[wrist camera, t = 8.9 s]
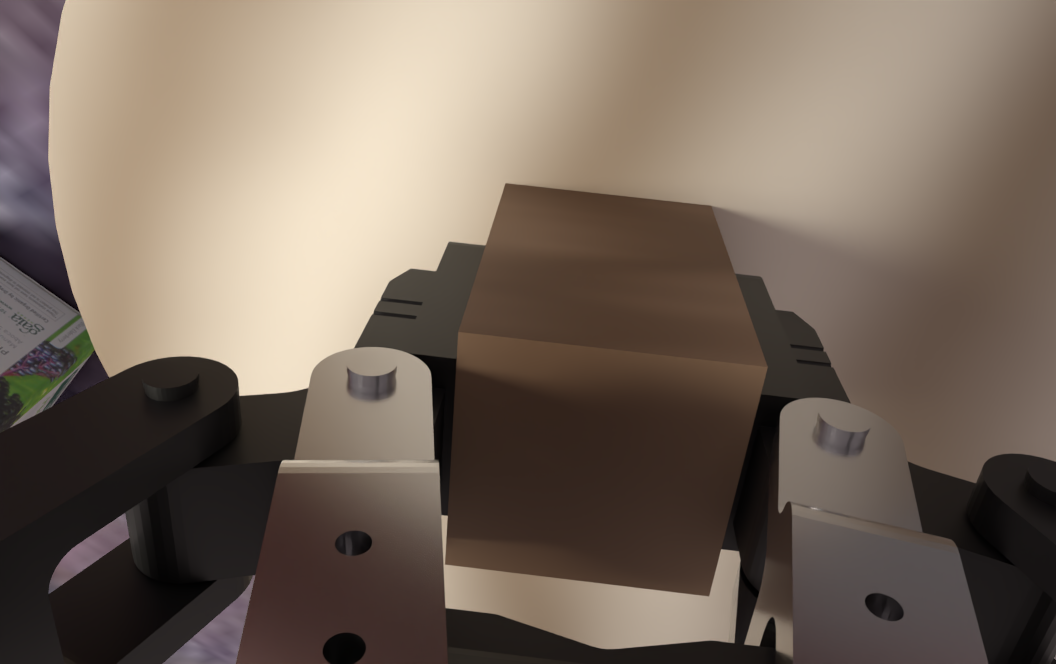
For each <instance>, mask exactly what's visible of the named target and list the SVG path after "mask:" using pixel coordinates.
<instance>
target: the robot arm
mask: <svg viewBox="0 0 1056 664" xmlns="http://www.w3.org/2000/svg"><path fill="white" fill-rule="evenodd" d="M485 246H486V245H477V244H468V243H459V242H450V241H449V242H448V244H447V247H446V249H445V252H444V254H443V256H442V259H441V261H440V263H439V266H438V268H437V270H436V271H429V270H420V269H409V270H407V271H406V272H404V273H402V274H401V275H399V276H397V277H396V278H394V279H392V280H391V281H389V283H388V285H387V287H386V289H385V291H384V293H383V294H382V296H381V301H379V302H378V304H377V306H376V308H375V309H374V313H373V314H372V315H371V317H370V319H369V321H368V323H367V324H366V326H365V328H364V330H363V332H362V334H361V336H360V338H359V339H358V341H357V343H356V345H355V347H354V348H353V349H348V350H344V351H341V352H337V353H335V354H332V355H330V356H328V357H326V358H325V359H323V360H322V361H321V362H319V363H318V364H317V365H316V366H315V368H314V369H313V371H312V374H311V378H310V383H309V388H306V389H302V390H298V391H292V392H285V393H274V394H260V395H245V396H239V384H238V378H237V375H236V374H235V372H234V371H233V370H232V369H231V368H229V367H228V366H227V365H225V364H222V363H220V362H218V361H215V360H212V359H207V358H202V357H192V356H178V357H167V358H160V359H155V360H151V361H147V362H144V363H141V364H138V365H135V366H133V367H130V368H128V369H126V370H124V371H122V372H120V373H118V374H116V375H114V376H112V377H110V378H108V379H106V380H104V381H102V382H100V383H98V384H96V385H94V386H92V387H90V388H88V389H86V390H84V391H82V392H80V393H78V394H76V395H74V396H72V397H70V398H68V399H66V400H64V401H62V402H60V403H58V404H56V405H54V406H52V407H50V408H48V409H46V410H44V411H42V412H40V413H38V414H37V415H35V416H33V417H31V418H29V419H27V420H25V421H23V422H21V423H19V424H17V425H15V426H13V427H11V428H9V429H7V430H5V431H3V432H1V433H0V664H162V663H164V662H165V661H166V660H167V659H168V658H169V657H170V656H172V655H173V654H174V653H175V652H176V651H177V650H178V649H180V648H181V647H182V646H183V645H184V644H185V643H186V642H188V641H189V640H190V639H191V638H192V637H193V636H194V635H196V634H197V633H198V632H199V631H200V630H201V629H202V628H204V627H205V626H206V625H207V624H208V623H209V622H210V621H212V620H213V619H214V618H215V617H216V616H217V615H218V614H220V613H221V612H222V611H223V610H224V609H225V608H226V607H228V606H229V605H230V604H231V603H232V602H233V601H234V600H236V599H237V598H238V597H239V596H240V595H241V594H242V593H243V592H244V591H245V589H246V588H247V587H248V585H249V584H250V581H251V579H252V576H253V575H255V579H254V583H253V588H252V592H251V597H250V601H249V606H248V610H247V615H246V619H245V624H244V628H243V633H242V637H241V642H240V646H239V651H238V655H237V660H236V664H1056V660H1055V659H1054V657H1055V655H1056V462H1055V461H1052V460H1048V459H1045V458H1041V457H1037V456H1032V455H1026V454H1012V453H1010V454H1001V455H997V456H994V457H992V458H989V459H988V460H987V461H986V462H985V463H984V465H983V467H982V470H981V472H980V475H979V477H978V479H977V482H976V483H973V482H970V481H967V480H963V479H960V478H956V477H953V476H950V475H946V474H943V473H940V472H936V471H933V470H930V469H927V468H924V467H921V466H918V465H916V464H913V463H911V462H908V461H907V457H906V452H905V447H904V443H903V440H902V438H901V436H900V435H899V433H898V432H897V431H896V430H895V429H894V427H893V426H892V425H890V424H889V423H888V422H887V421H885V420H884V419H882V418H881V417H879V416H878V415H876V414H874V413H872V412H870V411H868V410H866V409H864V408H862V407H859V406H856V405H853V404H851V403H850V400H849V398H848V396H847V394H846V392H845V390H844V388H843V386H842V384H841V382H840V380H839V378H838V376H837V374H836V372H835V370H834V368H833V367H831V361H830V359H829V357H828V355H827V353H826V352H824V347H823V345H822V343H821V341H820V339H819V337H818V335H817V333H816V331H815V329H814V328H812V327H811V326H810V325H809V324H808V323H806V322H805V321H804V320H803V319H801V318H800V317H799V316H798V315H796V314H795V313H794V312H791V311H782V310H775V308H774V305H773V303H772V300H771V298H770V296H769V293H768V291H767V288H766V286H765V284H764V281H763V279H762V277H760V276H752V275H743V274H735V275H736V278H737V281H738V283H739V286H740V289H741V292H742V295H743V298H744V301H745V303H746V306H747V309H748V312H749V315H750V318H751V321H752V323H753V326H754V329H755V332H756V335H757V338H758V341H759V343H760V346H761V349H762V352H763V355H764V358H765V361H766V363H767V366H768V368H767V372H766V376H765V380H764V384H763V388H762V392H761V396H760V400H759V404H758V408H757V411H756V415H755V419H754V423H753V427H752V431H751V435H750V439H749V443H748V447H747V450H746V454H745V458H744V462H743V466H742V470H741V474H740V478H739V482H738V486H737V489H736V493H735V497H734V501H733V505H732V509H731V513H730V517H729V521H728V525H727V529H726V532H725V536H724V540H723V544H722V548H721V549H723V550H732V551H739V555H740V564H739V568H738V571H737V575H736V579H735V582H734V586H733V591H732V601H731V613H730V625H729V638H728V642H720V641H712V640H709V641H698V642H687V643H676V644H665V645H654V646H643V647H632V648H621V649H602V648H597V647H593V646H590V645H587V644H584V643H581V642H578V641H575V640H572V639H569V638H566V637H563V636H560V635H557V634H554V633H551V632H548V631H545V630H542V629H539V628H536V627H533V626H530V625H527V624H524V623H521V622H518V621H515V620H512V619H509V618H506V617H503V616H500V615H497V614H491V613H483V612H475V611H467V610H458V609H450V608H445V586H444V564H443V542H442V519H441V515H444V516H448V502H449V485H450V467H451V450H452V432H453V415H454V397H455V380H456V363H457V345H458V331H459V328H460V325H461V322H462V319H463V315H464V312H465V309H466V306H467V303H468V300H469V297H470V293H471V290H472V287H473V284H474V281H475V278H476V274H477V271H478V268H479V265H480V262H481V259H482V256H483V252H484V249H485ZM124 513H125V514H126V520H127V525H128V531H129V537H130V538H129V539H127V540H126V541H125V542H123V543H122V544H120V545H119V546H117V547H116V548H114V549H113V550H112V551H110V552H109V553H107V554H106V555H104V556H103V557H102V558H100V559H99V560H97V561H96V562H94V563H93V564H92V565H90V566H89V567H87V568H86V569H84V570H83V571H82V572H80V573H79V574H77V575H76V576H74V577H73V578H71V579H70V580H69V581H67V582H66V583H64V584H63V585H61V586H60V587H59V588H57V589H56V590H54V591H53V592H51V593H50V594H48V590H49V584H50V580H51V577H52V574H53V572H54V570H55V568H56V567H57V565H58V564H59V562H60V561H61V559H62V558H63V557H64V556H65V555H66V554H67V553H68V552H69V551H70V550H71V549H72V548H73V547H75V546H76V545H77V544H79V543H80V542H82V541H83V540H85V539H86V538H88V537H89V536H91V535H92V534H94V533H95V532H97V531H98V530H100V529H101V528H103V527H104V526H106V525H107V524H109V523H110V522H112V521H113V520H115V519H116V518H118V517H119V516H121V515H122V514H124Z"/></svg>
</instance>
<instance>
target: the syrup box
mask: <svg viewBox="0 0 1056 664" xmlns="http://www.w3.org/2000/svg"><path fill="white" fill-rule="evenodd" d="M94 350H95V349H94V347H93V344H92V342H91V339H90V336H89V334H88V331H87V329H86V326H85V323H84V321H83V318H82V316H81V313H79V312H78V311H77V310H75V309H74V308H72V307H71V306H69V305H68V304H67V303H65V302H64V301H62V300H61V299H60V298H58V297H57V296H55V295H54V294H52V293H51V292H50V291H48V290H47V289H45V288H44V287H43V286H41V285H40V284H38V283H37V282H36V281H34V280H33V279H31V278H30V277H28V276H27V275H25V274H24V273H22V272H21V271H20V270H18V269H17V268H15V267H14V266H13V265H11V264H10V263H8V262H7V261H6V260H4V259H3V258H1V257H0V433H1V432H3V431H5V430H7V429H9V428H11V427H13V426H15V425H17V424H19V423H21V422H23V421H25V420H27V419H29V418H31V417H33V416H35V415H37V414H38V413H40V412H42V411H44V410H46V409H48V408H50V407H52V406H53V405H54V403H55V402H56V401H57V399H58V398H59V397H60V395H61V394H62V393H63V391H64V390H65V389H66V388H67V386H68V385H69V384H70V382H71V381H72V380H73V378H74V377H75V376H76V374H77V373H78V372H79V370H80V369H81V368H82V366H83V365H84V364H85V362H86V361H87V360H88V358H89V357H90V356H91V354H92V353H93V351H94Z"/></svg>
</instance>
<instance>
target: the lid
mask: <svg viewBox="0 0 1056 664" xmlns="http://www.w3.org/2000/svg"><path fill="white" fill-rule="evenodd" d="M48 160H49V169H50V177H51V186H52V195H53V204H54V212H55V221H56V228H57V232H58V236H59V241H60V245H61V249H62V253H63V257H64V261H65V265H66V269H67V273H68V277H69V281H70V285H71V289H72V292H73V295H74V298H75V300H76V303H77V305H78V308H79V310H80V313H81V316H82V318H83V321H84V323H85V326H86V329H87V331H88V334H89V336H90V339H91V342H92V344H93V347H94V349H95V352H96V354H97V355H98V357H99V359H100V361H101V363H102V365H103V367H104V369H105V371H106V372H107V374H108V376H109V378H110V377H112V376H114V375H116V374H118V373H120V372H122V371H124V370H126V369H128V368H130V367H133V366H135V365H138V364H141V363H144V362H147V361H151V360H155V359H160V358H167V357H178V356H192V357H202V358H207V359H212V360H215V361H218V362H220V363H222V364H225V365H227V366H228V367H229V368H231V369H232V370H233V371H234V372H235V374H236V375H237V378H238V384H239V396H245V395H260V394H274V393H285V392H292V391H298V390H302V389H306V388H309V383H310V378H311V374H312V371H313V369H314V368H315V366H316V365H317V364H318V363H319V362H321V361H322V360H323V359H325V358H326V357H328V356H330V355H332V354H335V353H337V352H341V351H344V350H348V349H353V348H354V347H355V345H356V343H357V341H358V339H359V338H360V336H361V334H362V332H363V330H364V328H365V326H366V324H367V323H368V321H369V319H370V317H371V315H372V314H373V313H374V309H375V308H376V306H377V304H378V302H379V301H381V296H382V294H383V293H384V291H385V289H386V287H387V285H388V283H389V281H391V280H392V279H394V278H396V277H397V276H399V275H401V274H402V273H404V272H406V271H407V270H409V269H420V270H429V271H436V270H437V268H438V266H439V263H440V261H441V259H442V256H443V254H444V252H445V249H446V247H447V244H448V242H449V241H450V242H459V243H468V244H477V245H486V246H485V249H484V252H483V256H482V259H481V262H480V265H479V268H478V271H477V274H476V278H475V281H474V284H473V287H472V290H471V293H470V297H469V300H468V303H467V306H466V309H465V312H464V315H463V319H462V322H461V325H460V328H459V331H458V345H457V363H456V380H455V397H454V415H453V432H452V450H451V467H450V485H449V502H448V516H444V515H441V519H442V542H443V564H444V586H445V608H450V609H458V610H467V611H475V612H483V613H491V614H497V615H500V616H503V617H506V618H509V619H512V620H515V621H518V622H521V623H524V624H527V625H530V626H533V627H536V628H539V629H542V630H545V631H548V632H551V633H554V634H557V635H560V636H563V637H566V638H569V639H572V640H575V641H578V642H581V643H584V644H587V645H590V646H593V647H597V648H602V649H621V648H632V647H643V646H654V645H665V644H676V643H687V642H698V641H709V640H712V641H720V642H728V638H729V625H730V613H731V601H732V591H733V586H734V582H735V579H736V575H737V571H738V568H739V564H740V555H739V551H732V550H723V549H721V548H722V544H723V540H724V536H725V532H726V529H727V525H728V521H729V517H730V513H731V509H732V505H733V501H734V497H735V493H736V489H737V486H738V482H739V478H740V474H741V470H742V466H743V462H744V458H745V454H746V450H747V447H748V443H749V439H750V435H751V431H752V427H753V423H754V419H755V415H756V411H757V408H758V404H759V400H760V396H761V392H762V388H763V384H764V380H765V376H766V372H767V368H768V366H767V363H766V361H765V358H764V355H763V352H762V349H761V346H760V343H759V341H758V338H757V335H756V332H755V329H754V326H753V323H752V321H751V318H750V315H749V312H748V309H747V306H746V303H745V301H744V298H743V295H742V292H741V289H740V286H739V283H738V281H737V278H736V275H735V274H743V275H752V276H760V277H762V279H763V281H764V284H765V286H766V288H767V291H768V293H769V296H770V298H771V300H772V303H773V305H774V308H775V310H782V311H791V312H794V313H795V314H796V315H798V316H799V317H800V318H801V319H803V320H804V321H805V322H806V323H808V324H809V325H810V326H811V327H812V328H814V329H815V331H816V333H817V335H818V337H819V339H820V341H821V343H822V345H823V347H824V352H826V353H827V355H828V357H829V359H830V361H831V367H833V368H834V370H835V372H836V374H837V376H838V378H839V380H840V382H841V384H842V386H843V388H844V390H845V392H846V394H847V396H848V398H849V400H850V403H851V404H853V405H856V406H859V407H862V408H864V409H866V410H868V411H870V412H872V413H874V414H876V415H878V416H879V417H881V418H882V419H884V420H885V421H887V422H888V423H889V424H890V425H892V426H893V427H894V429H895V430H896V431H897V432H898V433H899V435H900V436H901V438H902V440H903V443H904V447H905V452H906V457H907V461H908V462H911V463H913V464H916V465H918V466H921V467H924V468H927V469H930V470H933V471H936V472H940V473H943V474H946V475H950V476H953V477H956V478H960V479H963V480H967V481H970V482H973V483H976V482H977V479H978V477H979V475H980V472H981V470H982V467H983V465H984V463H985V462H986V461H987V460H988V459H989V458H992V457H994V456H997V455H1001V454H1010V453H1012V454H1026V455H1032V456H1037V457H1041V458H1045V459H1048V460H1052V461H1055V462H1056V0H66V2H65V5H64V8H63V11H62V15H61V22H60V28H59V34H58V40H57V46H56V52H55V59H54V65H53V71H52V77H51V83H50V106H49V153H48Z"/></svg>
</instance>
